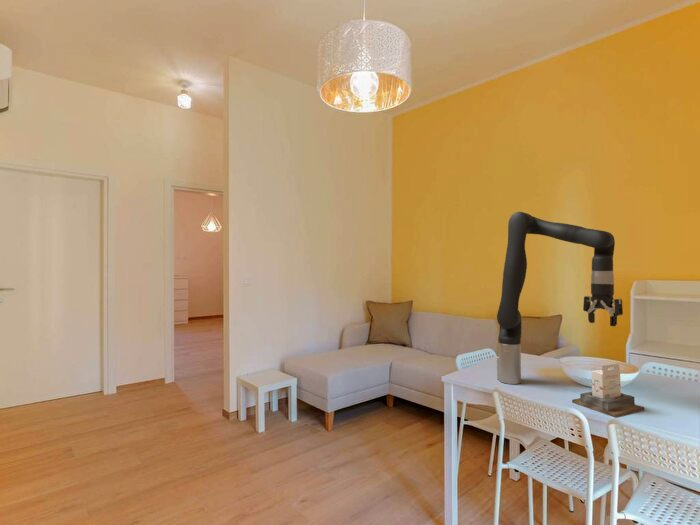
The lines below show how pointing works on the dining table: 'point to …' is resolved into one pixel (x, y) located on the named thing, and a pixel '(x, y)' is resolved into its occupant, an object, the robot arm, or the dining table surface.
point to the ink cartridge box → (606, 382)
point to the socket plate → (614, 412)
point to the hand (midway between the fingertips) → (602, 324)
